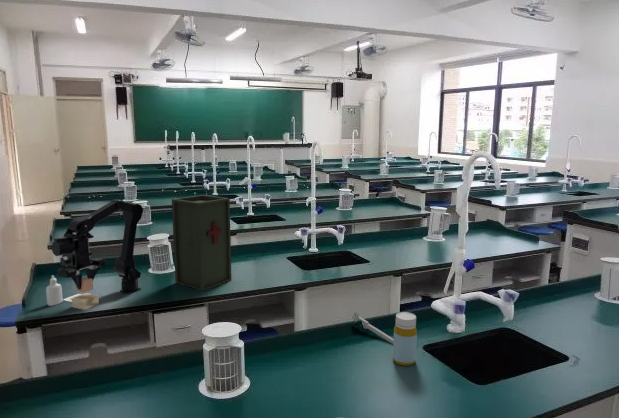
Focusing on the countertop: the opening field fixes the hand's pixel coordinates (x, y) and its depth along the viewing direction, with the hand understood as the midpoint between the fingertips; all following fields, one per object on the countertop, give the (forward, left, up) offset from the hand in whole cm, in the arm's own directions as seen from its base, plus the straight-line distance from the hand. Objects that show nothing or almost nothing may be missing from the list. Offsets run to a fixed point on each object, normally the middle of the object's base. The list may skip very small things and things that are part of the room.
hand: (84, 287), depth 186 cm
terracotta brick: (0, 0, -1) cm, 1 cm away
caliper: (-24, +115, -8) cm, 118 cm away
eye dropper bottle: (+4, -13, -8) cm, 16 cm away
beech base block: (0, 0, -8) cm, 8 cm away
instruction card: (-4, -11, -8) cm, 14 cm away
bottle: (-10, +129, -8) cm, 130 cm away
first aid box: (-45, +25, -8) cm, 52 cm away
